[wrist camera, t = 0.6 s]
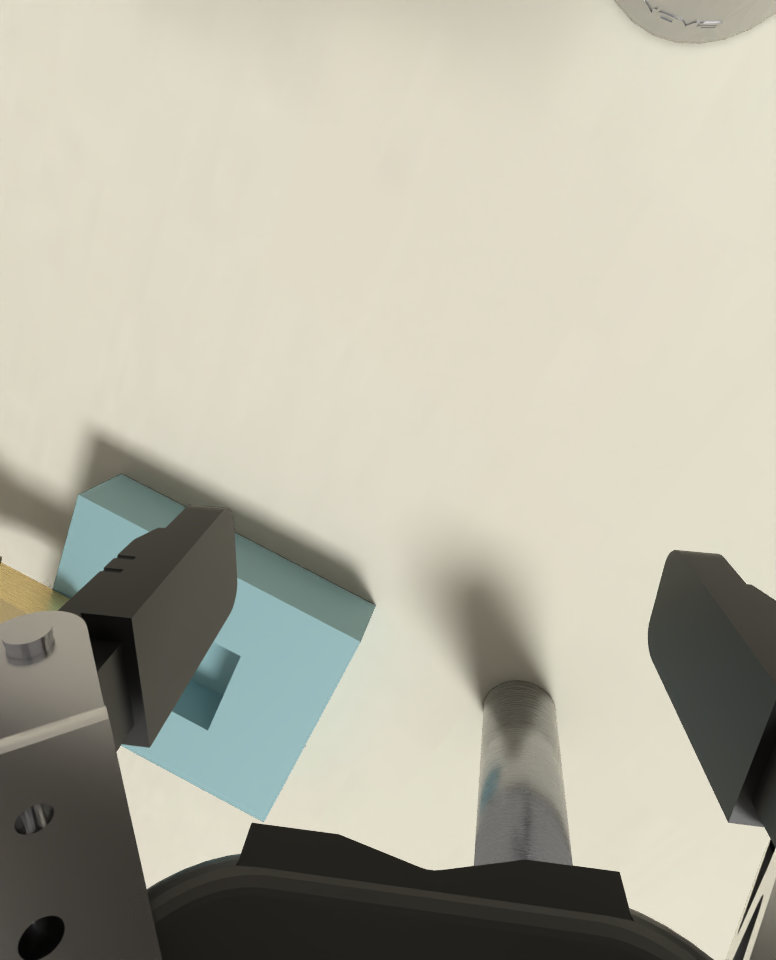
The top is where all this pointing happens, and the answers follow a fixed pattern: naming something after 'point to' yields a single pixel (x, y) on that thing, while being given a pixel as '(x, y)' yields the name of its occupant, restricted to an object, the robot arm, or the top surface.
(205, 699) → the dock
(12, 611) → the block hammer
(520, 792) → the metal capped cylinder
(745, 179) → the top surface
